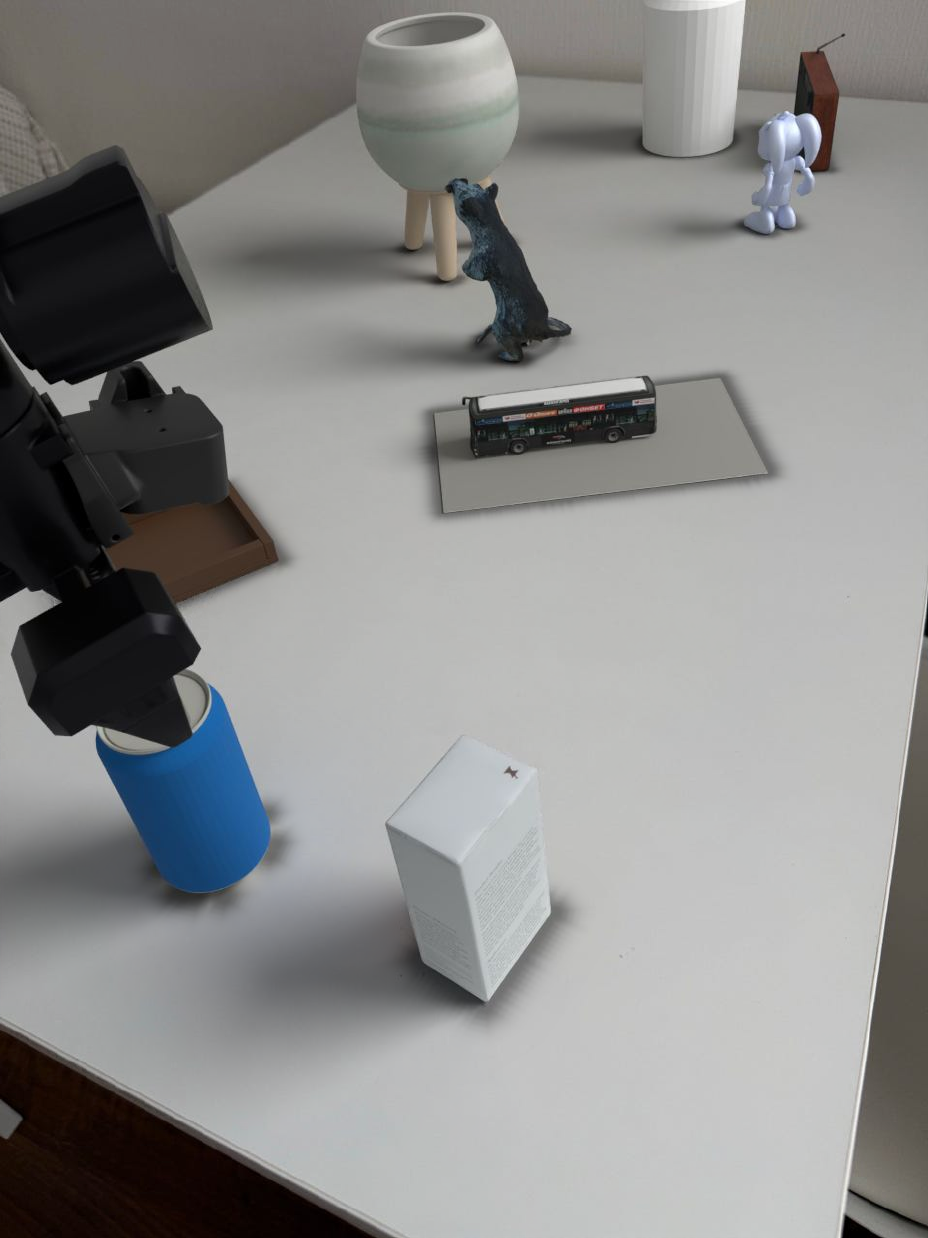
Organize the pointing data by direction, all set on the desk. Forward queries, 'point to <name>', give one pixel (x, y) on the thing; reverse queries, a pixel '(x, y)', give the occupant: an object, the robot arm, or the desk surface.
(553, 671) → the desk surface
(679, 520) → the desk surface
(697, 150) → the bottle
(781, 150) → the toy figurine
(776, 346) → the desk surface
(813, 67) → the radio
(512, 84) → the planter
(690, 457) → the model bus display
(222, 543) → the walnut tray
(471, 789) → the cosmetic box
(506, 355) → the sculpture
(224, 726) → the beverage can
